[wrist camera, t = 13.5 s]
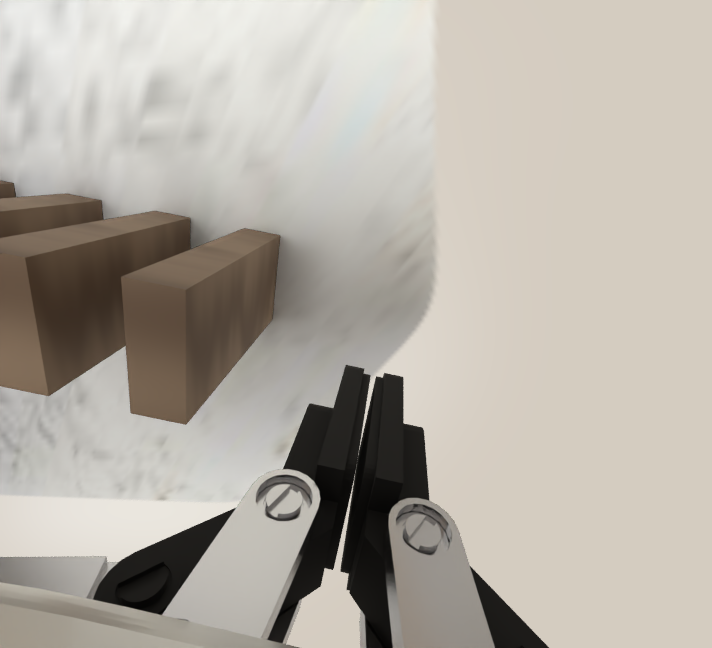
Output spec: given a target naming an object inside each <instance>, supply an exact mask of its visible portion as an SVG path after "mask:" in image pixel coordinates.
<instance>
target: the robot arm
mask: <svg viewBox="0 0 712 648" xmlns="http://www.w3.org/2000/svg"><path fill="white" fill-rule="evenodd" d="M363 373H364V369H363V368H358V367H353V366H348V365H346V367H345V370H344V374H343V377H342V381H341V384H340V387H339V391H338V394H337V398H336V401H335V405H334V408H329V407H324V406H320V405H315V404H309V406H308V408H307V410H306V413H305V415H304V418H303V420H302V423H301V425H300V428H299V430H298V433H297V435H296V438H295V441H294V443H293V446H292V448H291V451H290V453H289V456H288V458H287V461H286V463H285V466H284V468H283V469H278V470H274V471H271V472H268V473H266V474H264V475H262V476H261V477H259V478H258V479H257V480H256V481H255V482H254V483H253V484H252V486H251V487H250V489H249V490H248V491H247V493H246V494H245V496H244V497H243V499H242V500H241V502H240V503H239V504H238V506H237V507H236V508H234V509H232V510H230V511H228V512H225V513H223V514H221V515H218V516H216V517H214V518H212V519H210V520H207V521H205V522H203V523H200V524H198V525H196V526H194V527H191V528H189V529H187V530H184V531H182V532H180V533H178V534H176V535H173V536H171V537H169V538H166V539H164V540H162V541H160V542H157V543H155V544H153V545H151V546H148V547H146V548H144V549H141V550H139V551H137V552H135V553H133V554H131V555H130V556H128V557H126V558H125V559H123V560H121V561H120V562H107V558H106V556H100V557H99V556H93V557H92V556H90V557H0V648H298V647H294V646H290V645H286V643H287V640H288V637H289V635H290V632H291V629H292V627H293V624H294V622H295V619H296V616H297V614H298V611H299V608H300V605H301V600H302V598H304V597H305V596H307V595H308V594H310V593H311V592H313V591H314V590H316V589H317V588H318V587H320V586H321V581H322V577H323V572H324V568H327V569H332V570H333V568H334V564H335V560H336V555H337V551H338V547H339V542H340V538H341V534H342V529H343V525H344V520H345V516H346V512H347V507H348V502H349V498H350V494H351V490H352V485H353V481H354V486H353V493H352V499H351V506H350V512H349V518H348V525H347V531H346V538H345V544H344V551H343V557H342V564H341V572H345V573H349V576H348V584H347V590H350V594H351V596H352V597H353V599H354V600H355V602H356V603H357V605H358V606H359V608H360V609H361V613H360V646H361V648H549V647H548V646H547V645H546V644H545V643H544V642H543V641H542V640H541V639H540V638H539V637H538V636H537V635H536V634H535V633H534V632H533V631H532V630H531V629H530V628H529V627H528V626H527V625H526V623H525V622H524V621H523V620H522V619H521V618H520V617H519V616H518V615H517V614H516V613H515V612H514V611H513V610H512V609H511V608H510V607H509V606H508V605H507V604H506V603H505V602H504V601H503V600H502V599H501V598H500V597H499V596H498V594H497V593H496V592H495V591H494V590H493V589H492V588H491V587H490V586H489V585H488V584H487V583H486V582H485V581H484V580H483V579H482V578H481V577H480V576H479V575H478V574H477V573H476V572H475V571H474V570H473V569H472V568H471V567H470V565H469V562H468V559H467V556H466V553H465V549H464V547H463V543H462V540H461V537H460V533H459V531H458V528H457V526H456V524H455V522H454V520H453V519H452V518H451V517H450V516H449V514H448V513H447V512H446V511H445V510H443V509H442V508H441V507H440V506H438V505H437V504H434V503H433V502H431V501H429V490H428V478H427V465H426V453H425V440H424V430H423V428H422V427H417V426H413V425H408V424H403V377H400V376H396V375H391V374H386V373H384V376H383V378H381V377H376V379H375V384H374V388H373V393H372V397H371V401H370V406H369V410H368V415H367V419H366V423H365V428H364V433H363V437H362V441H361V445H360V439H361V433H362V427H363V420H364V414H365V408H366V401H367V394H368V388H369V382H370V375H367V374H363ZM359 446H360V450H359ZM358 453H359V455H358ZM357 459H358V460H357ZM356 465H357V467H356ZM355 471H356V473H355ZM354 476H355V480H354Z"/></svg>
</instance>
